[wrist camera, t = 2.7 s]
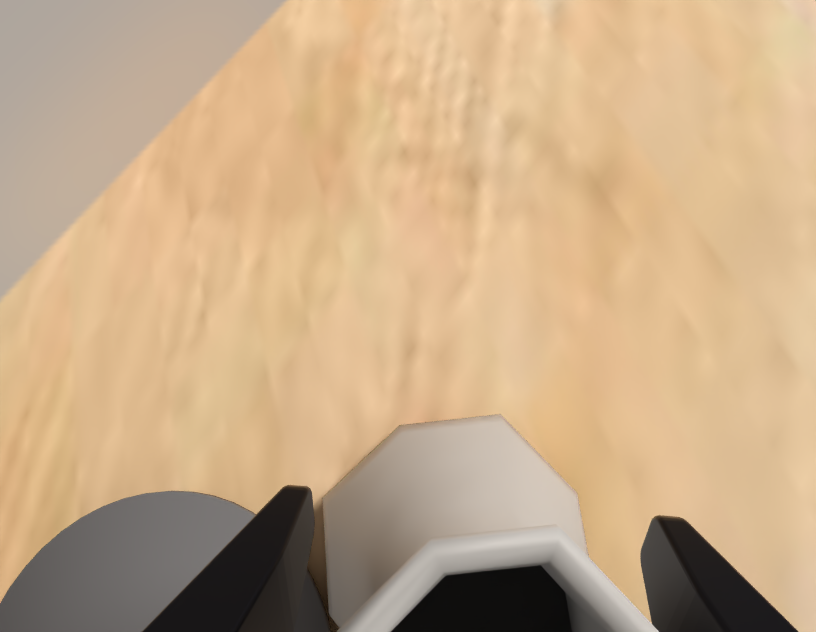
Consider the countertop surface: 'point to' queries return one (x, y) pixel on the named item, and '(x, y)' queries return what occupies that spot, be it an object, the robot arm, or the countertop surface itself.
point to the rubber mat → (131, 566)
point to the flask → (464, 539)
